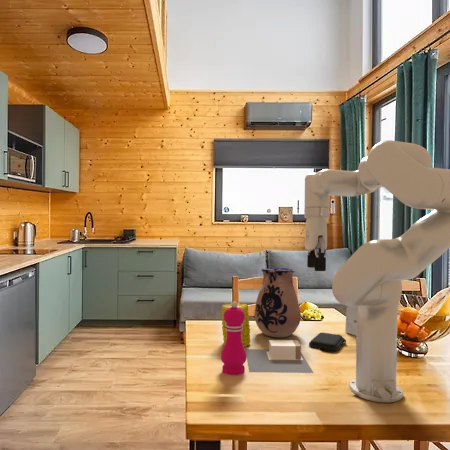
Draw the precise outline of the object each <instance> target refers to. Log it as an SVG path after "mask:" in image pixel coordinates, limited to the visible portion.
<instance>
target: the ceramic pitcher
mask: <svg viewBox="0 0 450 450" xmlns="http://www.w3.org/2000/svg"><path fill="white" fill-rule="evenodd" d="M261 272H262V275H263V276H262V281H261V282H262V283H261V285H260V288H259V292H258V294H257V298H256V301H255V305H254V313H253V314H254V321H255V323H256V326H257V327H258V329H259V331H260V332H261V333H263V334H264V335H266V336H267V337H271V338H279V339H280V338H283V339H284V338H288V337H290V336H291V335H292V334H294V333H295V332H296V330H297V328H298V327H299V326H300V323H301V317H302V316H301V313H302V312H301V308H300V304H299V299H298V296H297V293H296V290H295V287H294V283H293V280H294V279H293V278H294V277H293V275H294V273H295V269H292V268H289V267H267V268H262V269H261Z"/></svg>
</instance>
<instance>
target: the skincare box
mask: <svg viewBox="0 0 450 450" xmlns="http://www.w3.org/2000/svg"><path fill="white" fill-rule="evenodd" d="M360 307H361V306H356V307H350V306H345V308H346V309H345V311H346V312H345V333H347V334H350V335H353V336H354V337H355V336H356V323H357V316H358V312H359V310H360Z"/></svg>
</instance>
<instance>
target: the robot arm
mask: <svg viewBox="0 0 450 450" xmlns="http://www.w3.org/2000/svg"><path fill="white" fill-rule="evenodd" d="M431 166H432V158H431V154H430V152H429V151H428V149H427V148H425V147H423V146H422V145H419V144H416V143H414V142H413V143H412V142H406V141H404V142H403V141H397V140H382V141H380V142H378V143H376V144H375V145H374V146H372V147H371V149H370V150H369V152H368V154H367V156H365V157H363V158H362V159H361V161H360V162H359V165H358V167H357V170H344V169H343V170H342V169H329V168H325V169H322V170H319V171H317V172H313V173H308V174H306V175H305V176H304V177H305V178H304V212H303V214H304V219H306V221H305V231H304V232H305V233H304V248H305V250H307V255H306V256H307V257H306V258H307V263H306V264H307V268H312V269H314V271H316V272H326V270H327V268H326V267H327V254H326V252H327V247H328V221H327V220H328V219H330V200H331V198H330V197H331V196H332V197H349V198H350V197H358V196H362V195H367V194H371V193H374V192H375V191H376V190H378V189H379V188H384V189H385V190H387V191H388V192H389V193H390V194H392V195H393V196H394V197H395V198H396V199H397V200H398V201H399V202H401V203H402V204H404V205H405V206H407V207H410V208H413V209H418V210H432V211H431V212H429V213H428V214H426V215H424V216H423V217H421V218H419V219H418V220H417V221H415V222H414V223H413V224H412V225H411V226H410V227H409V229H407V230H406V231H405V232H404V233H403V234H401V235H400V236H399V237H395V238H390V239H385V238H383V239H381V238H379V239H372V240H370V241H367V242H366V243H364V244H362V245H360V247H359V248H357V249H356V250H355V252H353V254H352V255H351V256H350V257H349V258H348V259H347V260H346V261H345V262H344V263H343V265H342V266H341V267H340V268H338V270H337V271H336V273H335V275H334V277H333V279H332V284H331V290H332V295H333V296H334V298H335V300H336V301H337V302H338V303H340V305H343V306H345V307H347V306H350V307H356V306H361V307H360V310H359V312H358V316H357V323H356V337H355V338H356V339H355V378H354V379H351V380H350V381H349V384H348V387H349V389H350V391H351V392H353V394H354V395H355V396H356V397H360V399H361V398H362V399H364V400H367V401H371V402H375V403H376V402H377V403H394V402H398V401H400V400H402V399H403V397H404V391H403V389H402V388H401V387H400V386H399V385H397V367H398V366H397V364H398V363H397V362H398V361H397V359H398V358H397V357H398V356H397V355H398V354H397V353H398V346H397V345H398V341H397V340H398V315H399V307H400V302H401V297H402V293H403V285H402V284H403V283H402V281H409V280H412V279H414V278H416V277H417V276H418V275H420V274H421V273H422V272H424V271H425V270H426V269H427V268H428V267H429V266H431V264H433V263H434V262H435V261H436V260H438V259H439V258H440V257H441V256H442V255H443V254H445V252H446V251H448V250H449V249H450V169H448V168H439V167H431Z"/></svg>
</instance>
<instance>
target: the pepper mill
mask: <svg viewBox="0 0 450 450" xmlns="http://www.w3.org/2000/svg"><path fill="white" fill-rule="evenodd" d="M230 304H231V306H232V307H230V308H228V309H226V310H225V312H224V320H225V322H226V323H227V324H226V325H225V326H226V328H225V329H226V330H227V339H226V343H225V344H224V345H223V347H222V350H221V354H220V360H221V362H222V363H223V365H222V370H221V371H222V373H223V374H225V375H229V376H239V375H242V374H244V373H245V370H246V368H245V367H246V366H245V365H244V364H245V363H246V362H247V356H246V351H245V347H244V346H243V344H242V340H241V331H242V330H243V325H242V323H243V321H244V319H245V314H244V311H243V310H242V309H241V308H239V307H237V305H238V304H239V303H238V302H237V301H232V302H231V303H230Z"/></svg>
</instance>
